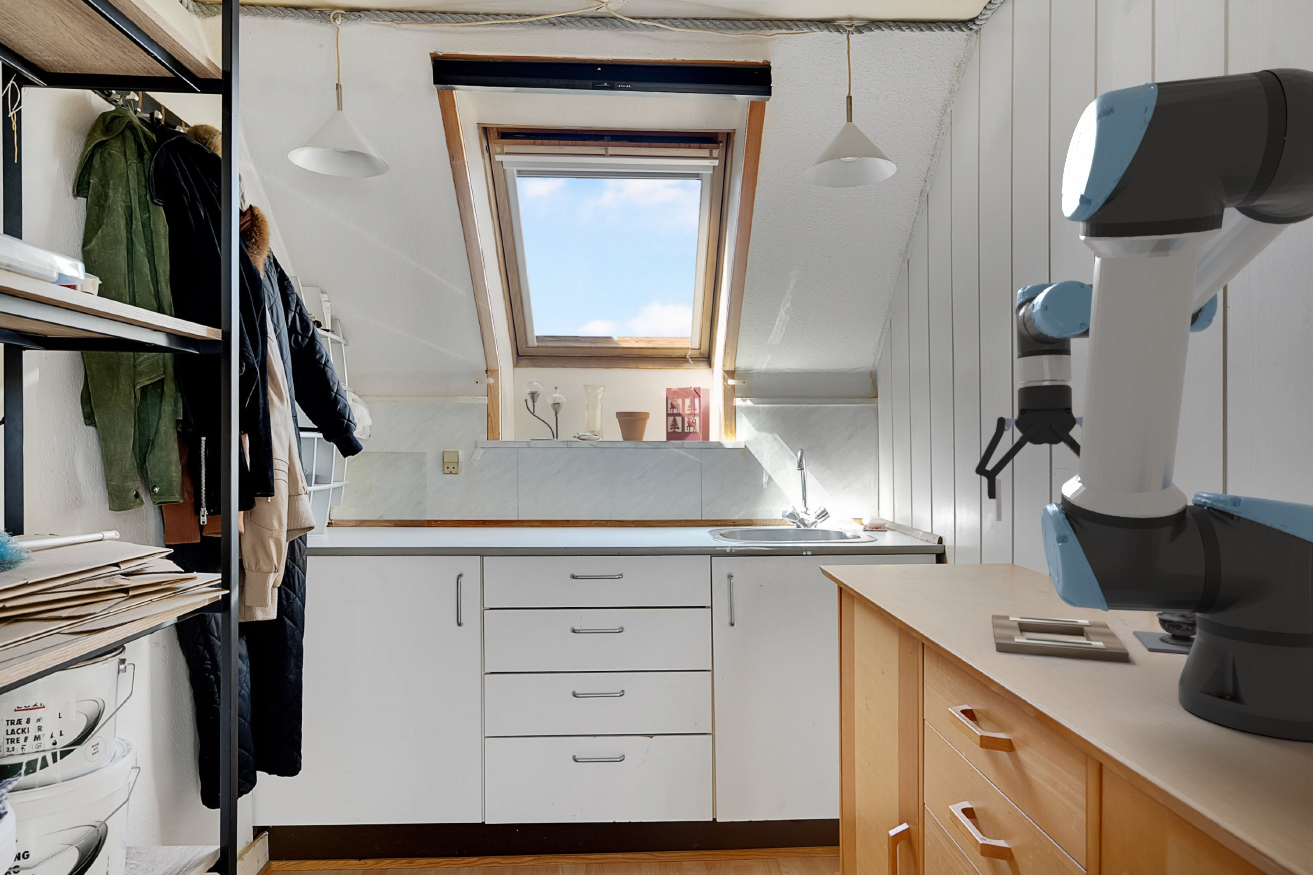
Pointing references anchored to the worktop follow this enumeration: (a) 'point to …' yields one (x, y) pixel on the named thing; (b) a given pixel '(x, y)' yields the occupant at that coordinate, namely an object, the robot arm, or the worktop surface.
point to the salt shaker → (1178, 628)
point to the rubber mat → (1159, 642)
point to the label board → (1096, 634)
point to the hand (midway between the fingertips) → (1046, 521)
